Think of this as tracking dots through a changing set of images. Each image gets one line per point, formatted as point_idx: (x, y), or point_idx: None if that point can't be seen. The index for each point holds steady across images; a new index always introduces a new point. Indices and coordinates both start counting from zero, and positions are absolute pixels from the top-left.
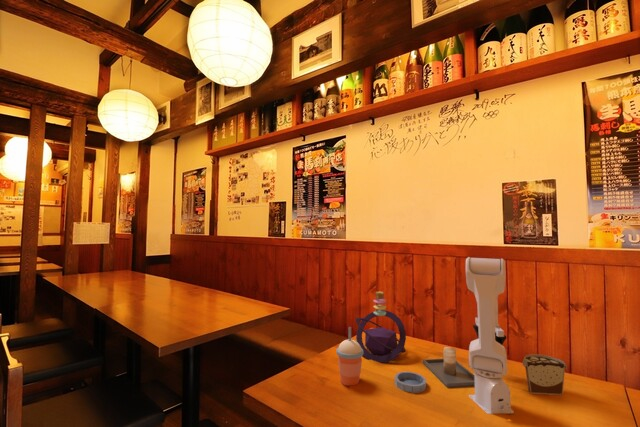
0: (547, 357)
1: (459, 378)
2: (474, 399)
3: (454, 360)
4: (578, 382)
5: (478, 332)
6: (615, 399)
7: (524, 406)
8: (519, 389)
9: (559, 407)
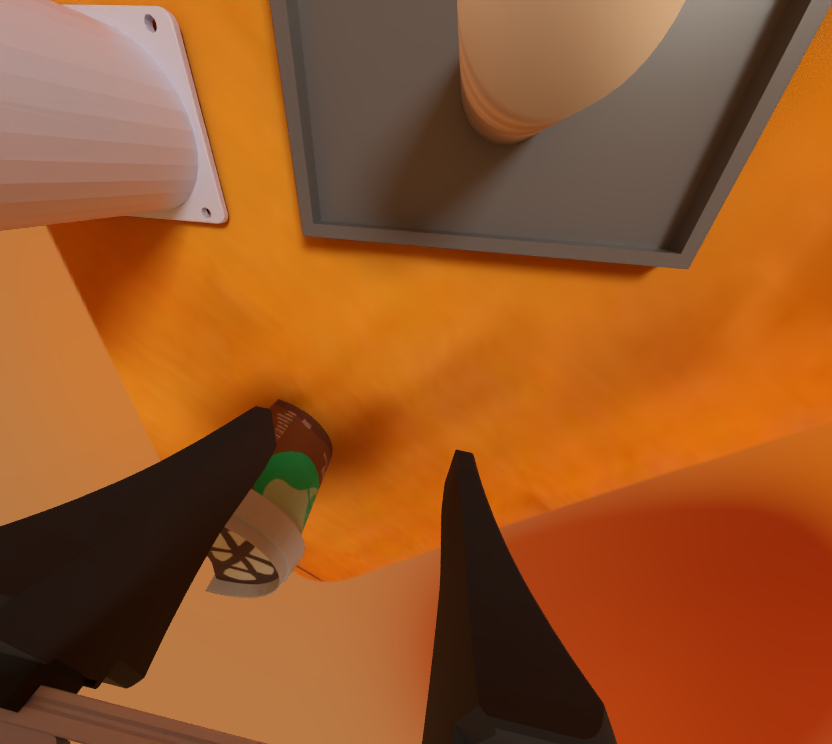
0: (268, 586)
1: (399, 108)
2: (118, 24)
3: (461, 72)
4: (350, 545)
5: (465, 603)
6: None
7: (169, 304)
8: (304, 385)
9: (197, 408)
